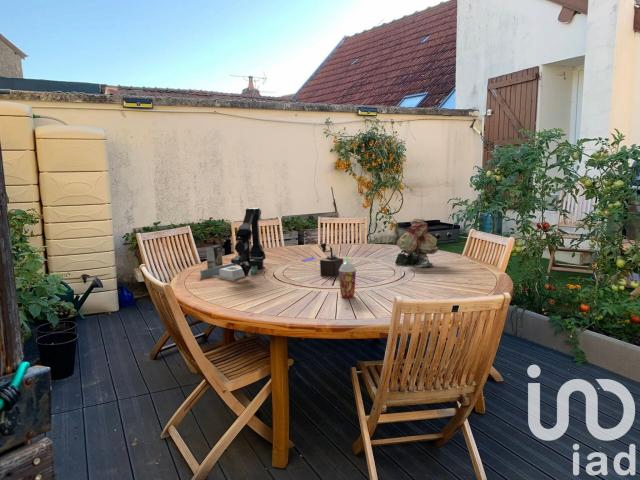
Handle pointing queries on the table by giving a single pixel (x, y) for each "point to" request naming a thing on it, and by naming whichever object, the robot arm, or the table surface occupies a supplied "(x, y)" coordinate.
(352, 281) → the smoothie
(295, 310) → the table surface
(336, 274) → the black box with stems
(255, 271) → the dowel
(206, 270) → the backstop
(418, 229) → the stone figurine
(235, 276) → the socket block
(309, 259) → the booklet
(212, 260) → the coffee box
